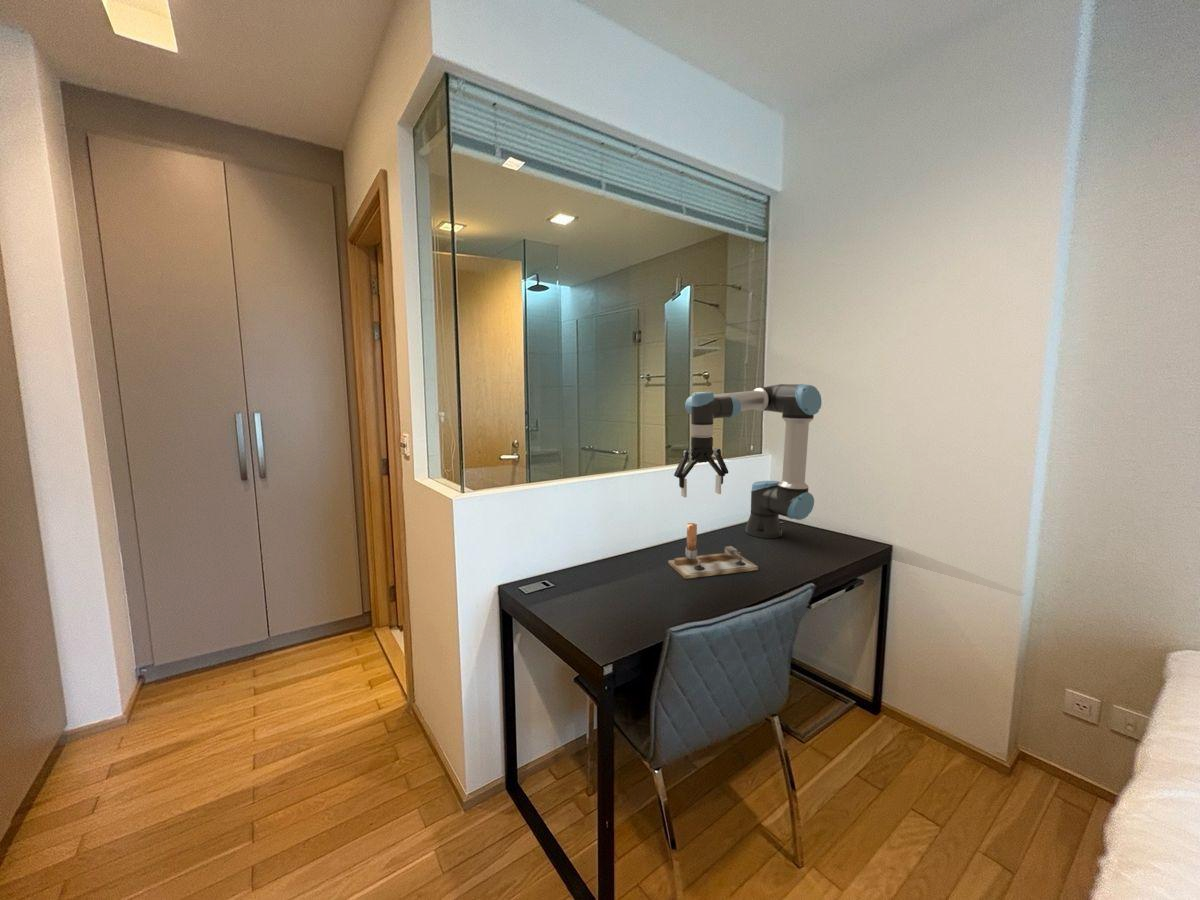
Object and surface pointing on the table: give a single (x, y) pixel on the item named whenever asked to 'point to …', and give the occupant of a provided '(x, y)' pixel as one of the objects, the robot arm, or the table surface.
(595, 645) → the table surface
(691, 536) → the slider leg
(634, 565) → the table surface
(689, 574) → the holed mounting plate
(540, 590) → the table surface
